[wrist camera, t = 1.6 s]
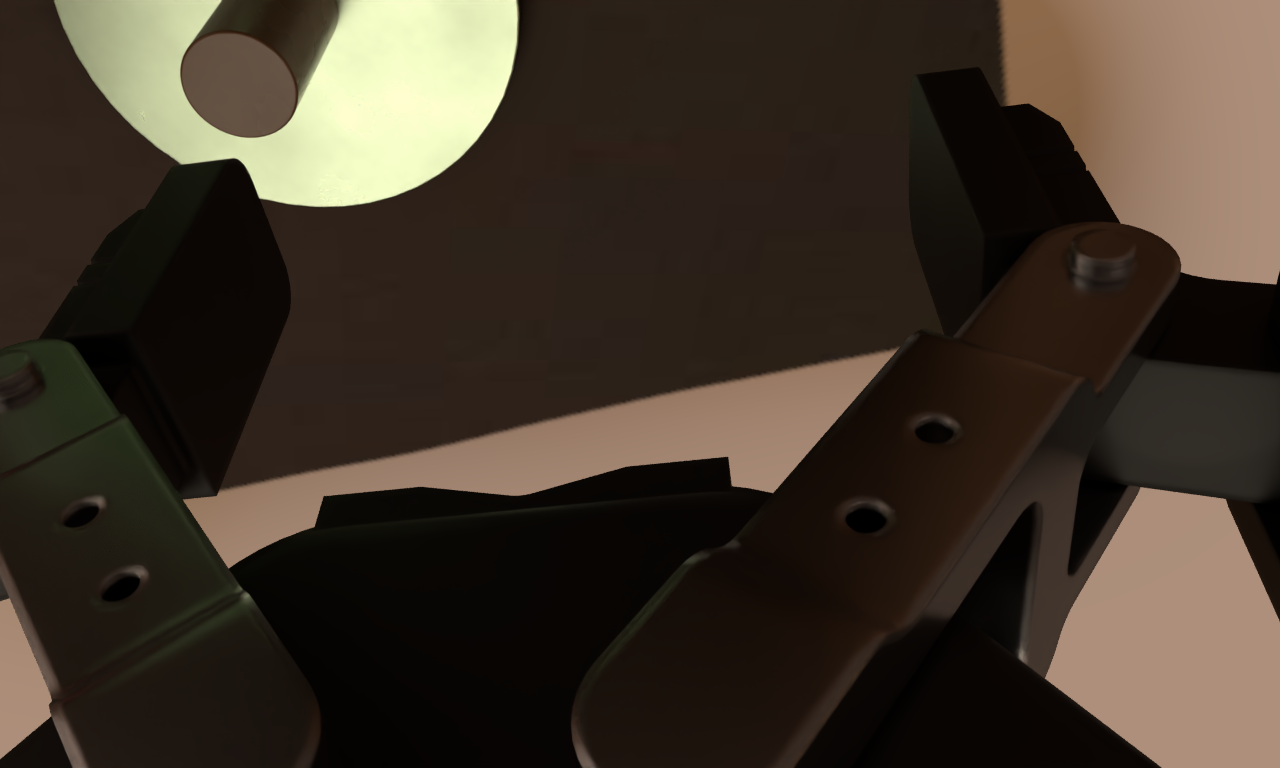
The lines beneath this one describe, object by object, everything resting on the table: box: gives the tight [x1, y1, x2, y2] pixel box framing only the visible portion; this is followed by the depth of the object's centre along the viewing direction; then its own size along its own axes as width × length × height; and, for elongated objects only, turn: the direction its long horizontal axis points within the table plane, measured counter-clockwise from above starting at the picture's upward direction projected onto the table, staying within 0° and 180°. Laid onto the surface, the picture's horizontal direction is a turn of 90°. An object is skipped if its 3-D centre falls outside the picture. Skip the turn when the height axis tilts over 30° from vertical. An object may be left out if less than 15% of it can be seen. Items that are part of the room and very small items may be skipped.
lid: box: [53, 0, 521, 208], centre depth 31 cm, size 13×13×6 cm
